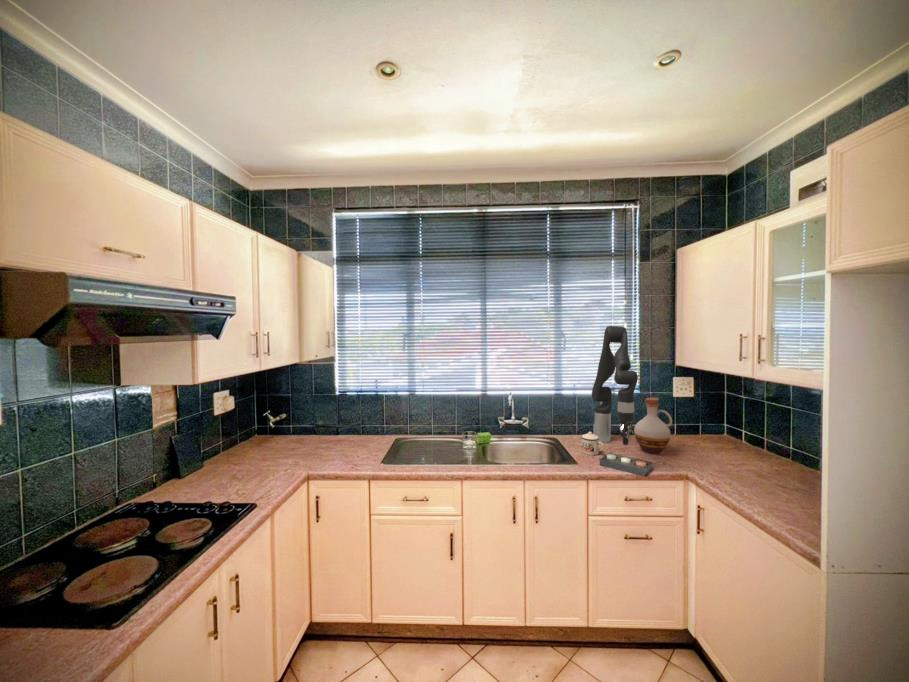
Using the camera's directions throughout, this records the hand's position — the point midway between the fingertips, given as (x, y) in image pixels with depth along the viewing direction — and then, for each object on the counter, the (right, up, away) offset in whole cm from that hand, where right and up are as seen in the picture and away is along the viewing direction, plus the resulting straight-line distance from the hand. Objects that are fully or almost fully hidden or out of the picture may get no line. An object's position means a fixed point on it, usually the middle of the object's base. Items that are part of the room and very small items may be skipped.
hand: (625, 444), depth 179 cm
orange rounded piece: (+5, -11, -5) cm, 13 cm away
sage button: (-5, -11, +5) cm, 13 cm away
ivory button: (0, -11, 0) cm, 11 cm away
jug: (+26, -10, +21) cm, 35 cm away
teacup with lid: (-9, -11, +20) cm, 24 cm away
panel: (0, -11, 0) cm, 11 cm away
